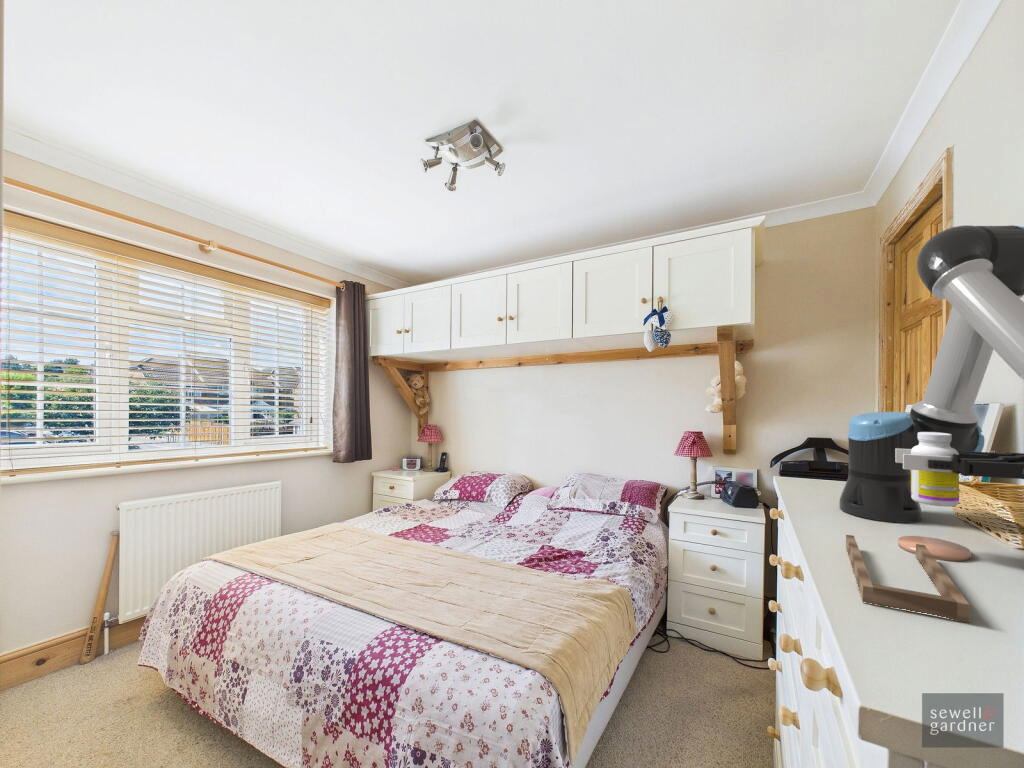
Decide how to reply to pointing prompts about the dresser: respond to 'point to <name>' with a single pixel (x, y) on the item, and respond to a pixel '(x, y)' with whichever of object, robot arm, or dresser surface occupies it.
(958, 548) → the pink round coaster
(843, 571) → the dresser surface
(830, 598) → the dresser surface
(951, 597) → the walnut channel
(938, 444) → the supplement bottle
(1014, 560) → the dresser surface
